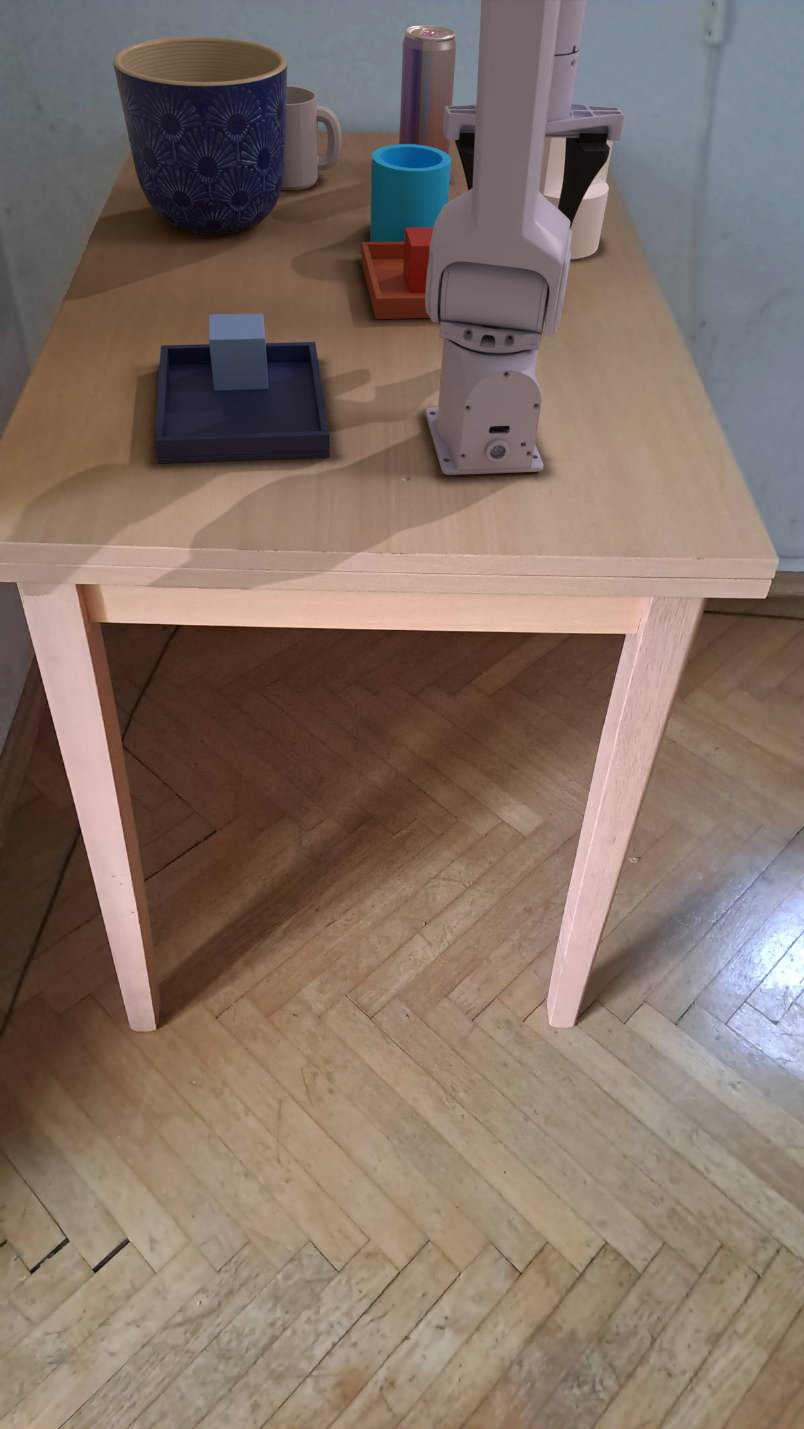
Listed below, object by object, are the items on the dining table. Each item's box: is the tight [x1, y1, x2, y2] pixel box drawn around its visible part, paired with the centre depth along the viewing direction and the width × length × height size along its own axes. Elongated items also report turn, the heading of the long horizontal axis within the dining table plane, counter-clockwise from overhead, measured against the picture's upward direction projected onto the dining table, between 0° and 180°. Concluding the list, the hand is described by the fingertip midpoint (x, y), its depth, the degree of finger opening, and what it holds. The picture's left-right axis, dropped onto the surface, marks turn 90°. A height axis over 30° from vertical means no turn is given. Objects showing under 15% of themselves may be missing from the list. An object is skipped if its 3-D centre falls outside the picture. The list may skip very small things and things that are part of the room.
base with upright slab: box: [539, 138, 614, 260], centre depth 104 cm, size 9×9×12 cm
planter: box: [112, 35, 288, 236], centre depth 103 cm, size 17×17×15 cm
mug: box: [369, 143, 452, 242], centre depth 106 cm, size 12×8×8 cm
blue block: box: [208, 313, 268, 391], centre depth 83 cm, size 4×4×4 cm
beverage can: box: [398, 24, 457, 156], centre depth 115 cm, size 6×6×15 cm
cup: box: [281, 85, 343, 191], centre depth 115 cm, size 7×10×9 cm
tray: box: [360, 241, 431, 320], centre depth 98 cm, size 13×12×2 cm
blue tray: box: [153, 341, 331, 464], centre depth 81 cm, size 15×13×2 cm
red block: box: [403, 227, 434, 293], centre depth 97 cm, size 4×4×4 cm
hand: (520, 229), depth 86 cm, fingers open, 7 cm apart
